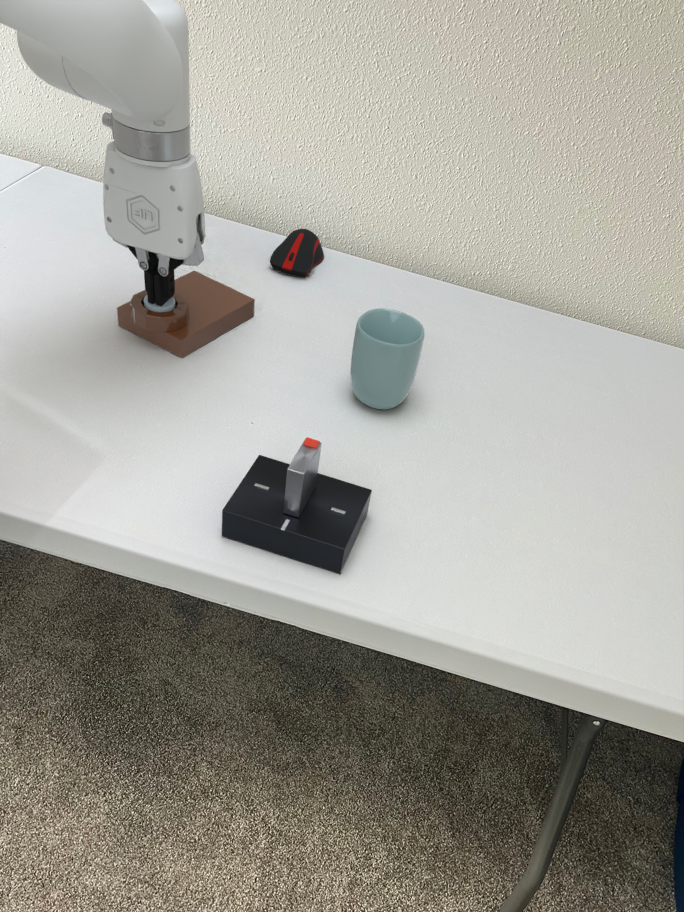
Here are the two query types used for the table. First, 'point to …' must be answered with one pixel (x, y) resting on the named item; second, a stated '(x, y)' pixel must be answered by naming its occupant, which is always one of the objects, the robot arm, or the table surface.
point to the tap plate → (305, 538)
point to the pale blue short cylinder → (166, 307)
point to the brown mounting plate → (188, 314)
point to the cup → (385, 357)
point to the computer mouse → (297, 253)
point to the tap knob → (302, 477)
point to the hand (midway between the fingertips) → (160, 299)
